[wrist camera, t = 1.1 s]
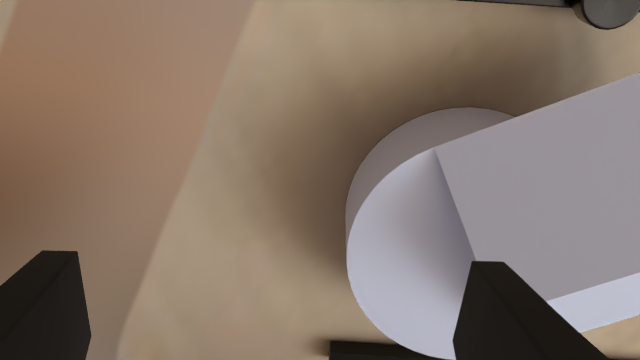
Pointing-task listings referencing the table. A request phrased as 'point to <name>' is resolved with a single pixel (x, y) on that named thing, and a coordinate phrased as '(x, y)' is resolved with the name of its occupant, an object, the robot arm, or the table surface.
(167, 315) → the table surface
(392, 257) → the wedge on round base
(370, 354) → the frame
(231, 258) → the table surface
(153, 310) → the table surface
